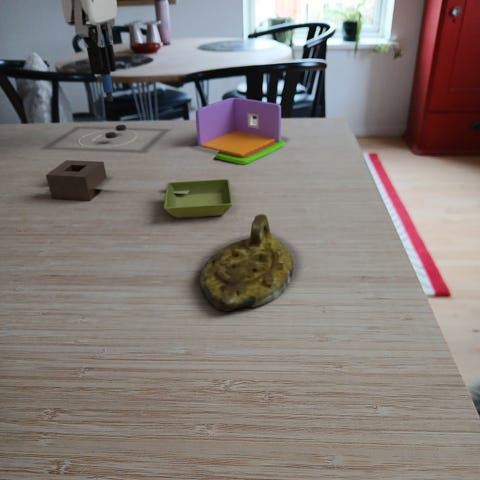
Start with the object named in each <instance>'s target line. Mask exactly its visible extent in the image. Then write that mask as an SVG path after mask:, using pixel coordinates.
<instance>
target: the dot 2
mask: <svg viewBox="0 0 480 480" xmlns="http://www.w3.org/2000/svg"><path fill="white" fill-rule="evenodd" d="M115 129H116V130H115V131H117V132H123V131H124V130H127V126H126V125H125V124H118V125H116V126H115Z"/></svg>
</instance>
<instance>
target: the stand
mask: <svg viewBox="0 0 480 480" xmlns="http://www.w3.org/2000/svg"><path fill="white" fill-rule="evenodd" d="M45 177H46V182H47V185H48V189H49V194H50V196H51V199H52V200H53V199H54V200H71V201H72V200H73V201H85V202H86V201H87V202H90V201H92V200H93V199H94V198H96V197H97V196H98V195H99V194H100V193H101V192H102V191H103V188H98V186H100V185H101V184H102V183H103V182H104V181H105V180H106V179H107V178H108V177H107V171H106V167H105V162H104V161H100V160H99V161H96V160H95V161H94V160H72V159H66V160H64V161H63V162H62V163H60V164H59V165H58V166H56V167H55V168H53V169H52V170H50V171H49V172H48V173H46V174H45Z"/></svg>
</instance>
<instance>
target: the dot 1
mask: <svg viewBox="0 0 480 480" xmlns="http://www.w3.org/2000/svg"><path fill="white" fill-rule="evenodd" d="M104 136H105V139H109V140H110V139H115V138H117V133H116V132H115V131H109V132H108V131H107V132H106V133H105V134H104Z"/></svg>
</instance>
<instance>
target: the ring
mask: <svg viewBox="0 0 480 480" xmlns="http://www.w3.org/2000/svg"><path fill="white" fill-rule="evenodd" d="M106 131H107V132H108V131H109V132H110V129H103V130H98V131H94V132H90V133H88V134H85V135H82V136H81V137H79V139H78V141H77V144H79V145H80V146H81V147H84V148H85V147H86V148H91V149H92V148H93V149H105V148H113V147H118V146H123V145H126V144H129V143H131V142H134V141H135V140H137V138H138V133H137V132H135V131H133V130H130V129H129V130H128V129H126V130H124V131H125V132H130V133H132V134H134V137H133V138H132V139H131V140H129V141H126V142H123V143H120V144H115V145H109V146H108V145H107V146H90V145H86V144H83V143H81V140H82V139H83V138H85V137H86V136H89V135H92V134H95V133H101V132H106ZM111 131H117V130H116V128H112V129H111ZM101 136H102V134H99V135H98V136H96V137H95V138H93V139H92V140H91V142H94V141H95V140H97V139H98V138H100V137H101Z"/></svg>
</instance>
